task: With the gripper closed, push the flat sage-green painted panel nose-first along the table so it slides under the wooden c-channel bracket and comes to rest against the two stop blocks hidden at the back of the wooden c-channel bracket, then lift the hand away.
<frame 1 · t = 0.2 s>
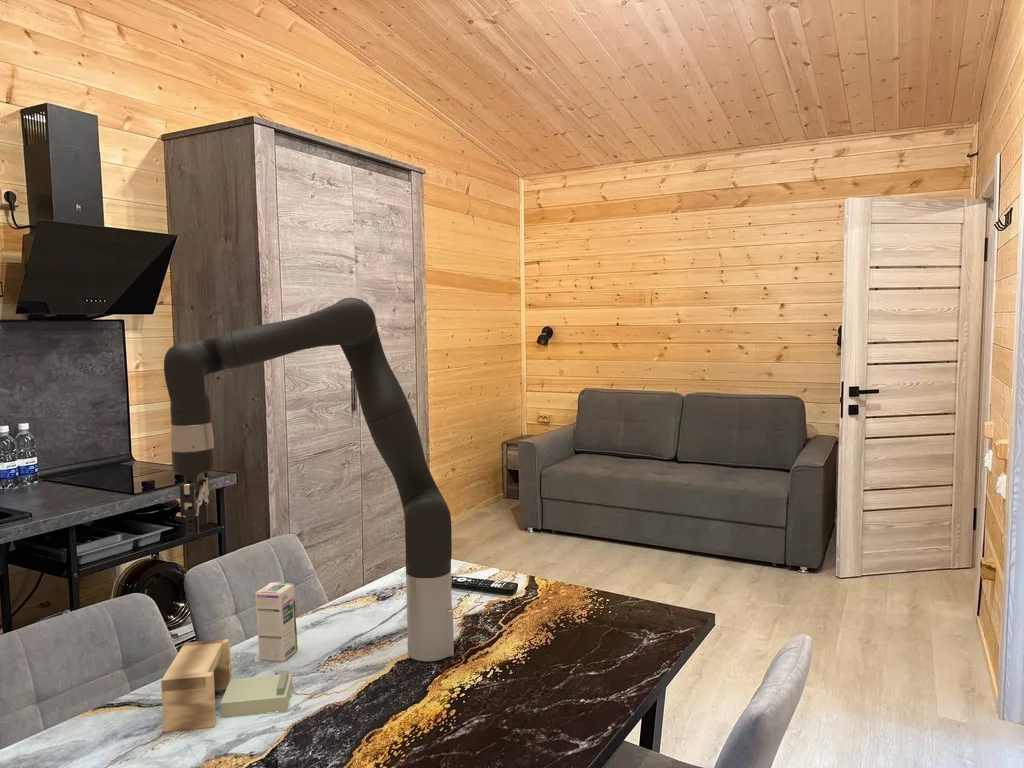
hand: (197, 529, 144), 29 cm above the table, tool pointing down, fingers open, 8 cm apart
syrup box: (278, 656, 154), on the table
panel: (258, 703, 135), on the table
wooden c-channel bracket: (199, 707, 133), on the table
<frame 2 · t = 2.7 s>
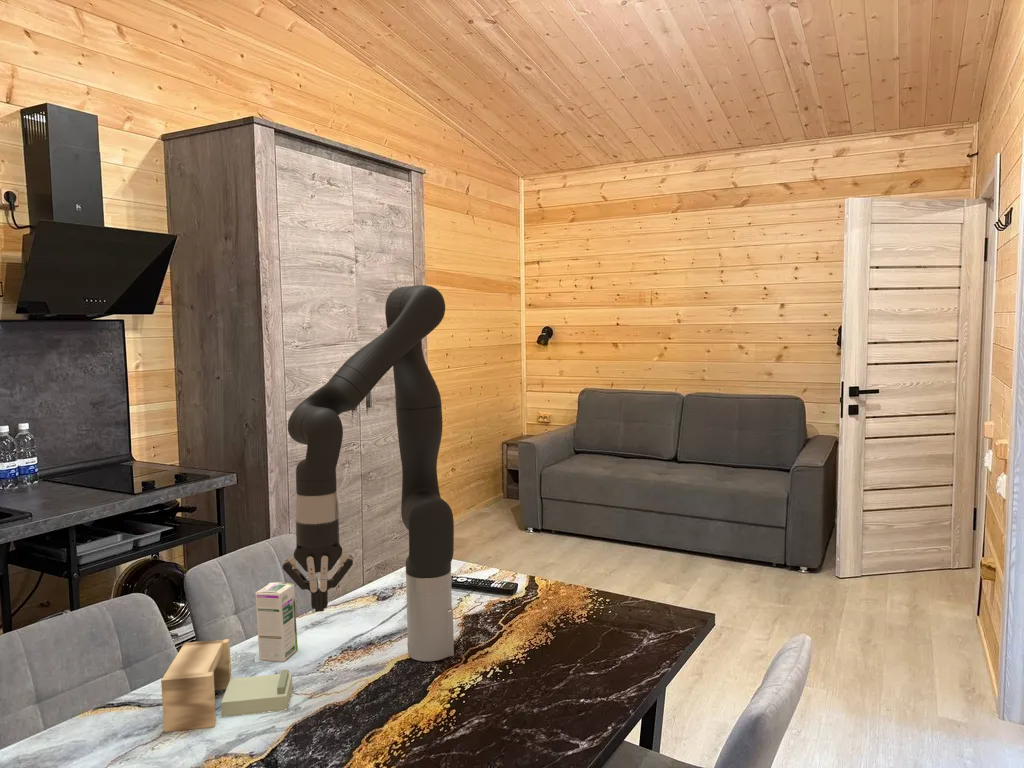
hand: (319, 610, 135), 16 cm above the table, tool pointing down, fingers closed
nothing on the table moved.
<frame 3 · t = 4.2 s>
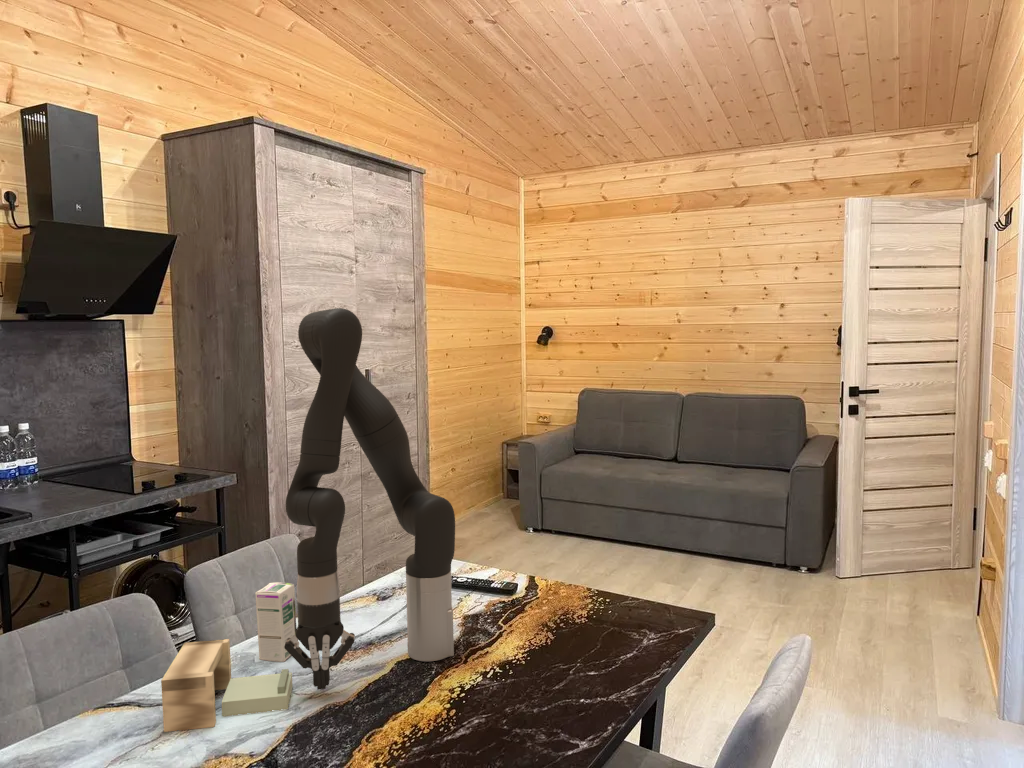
hand: (321, 687, 137), 2 cm above the table, tool pointing down, fingers closed
nothing on the table moved.
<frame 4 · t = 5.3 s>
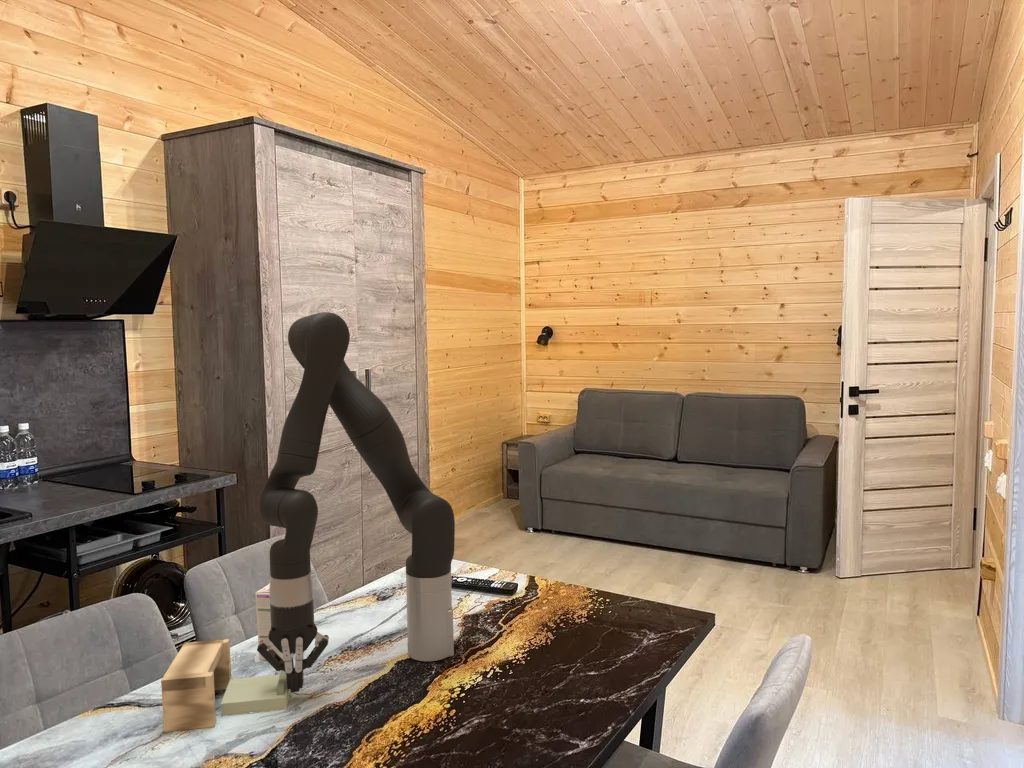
hand: (295, 689, 136), 2 cm above the table, tool pointing down, fingers closed
panel: (258, 703, 135), on the table, touching gripper
everything else where it was.
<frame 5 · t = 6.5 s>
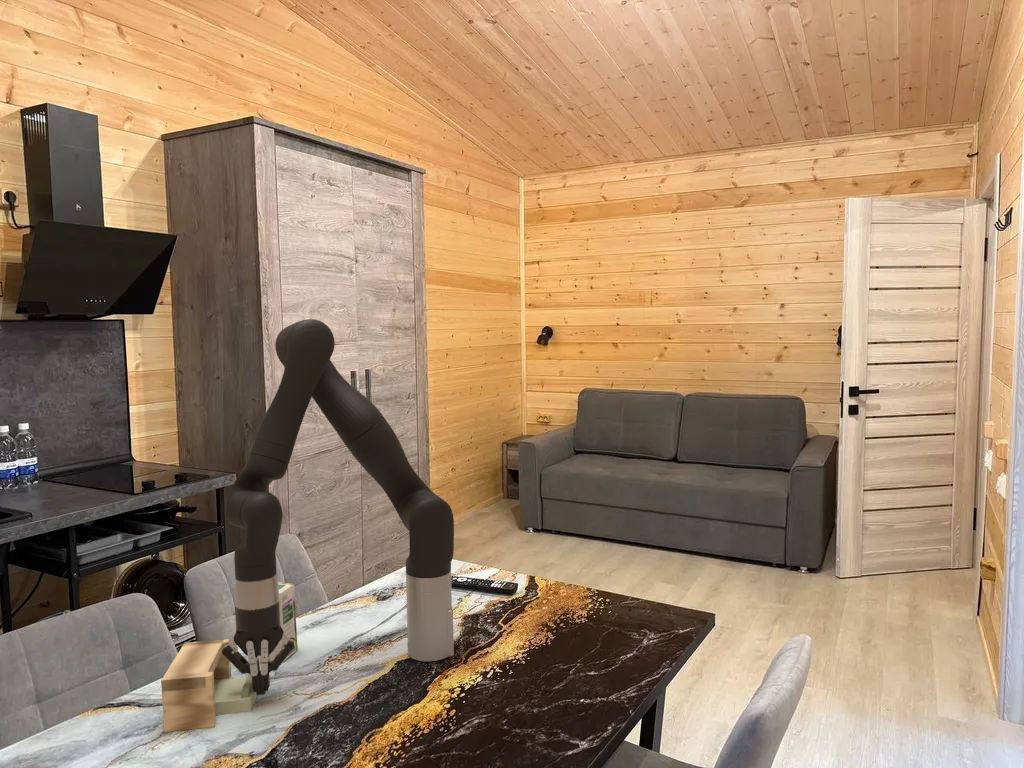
hand: (261, 692, 135), 2 cm above the table, tool pointing down, fingers closed
panel: (224, 705, 135), on the table
everything else where it was.
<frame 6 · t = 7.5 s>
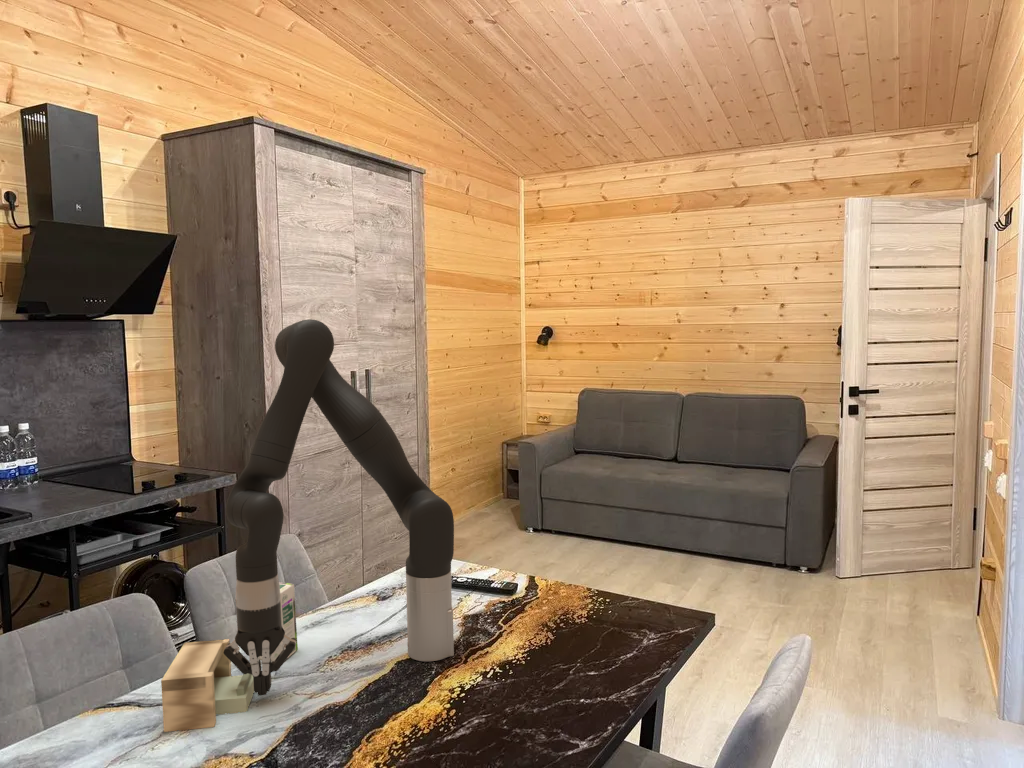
hand: (262, 693, 135), 1 cm above the table, tool pointing down, fingers closed
nothing on the table moved.
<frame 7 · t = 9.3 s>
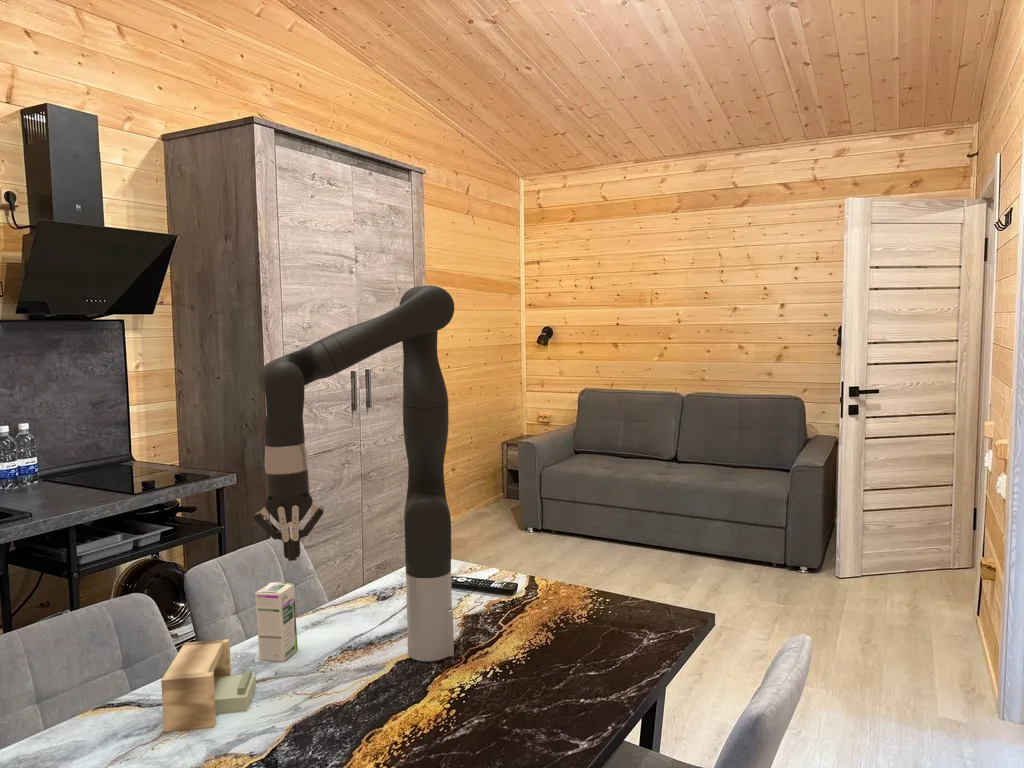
hand: (292, 559, 139), 24 cm above the table, tool pointing down, fingers closed
nothing on the table moved.
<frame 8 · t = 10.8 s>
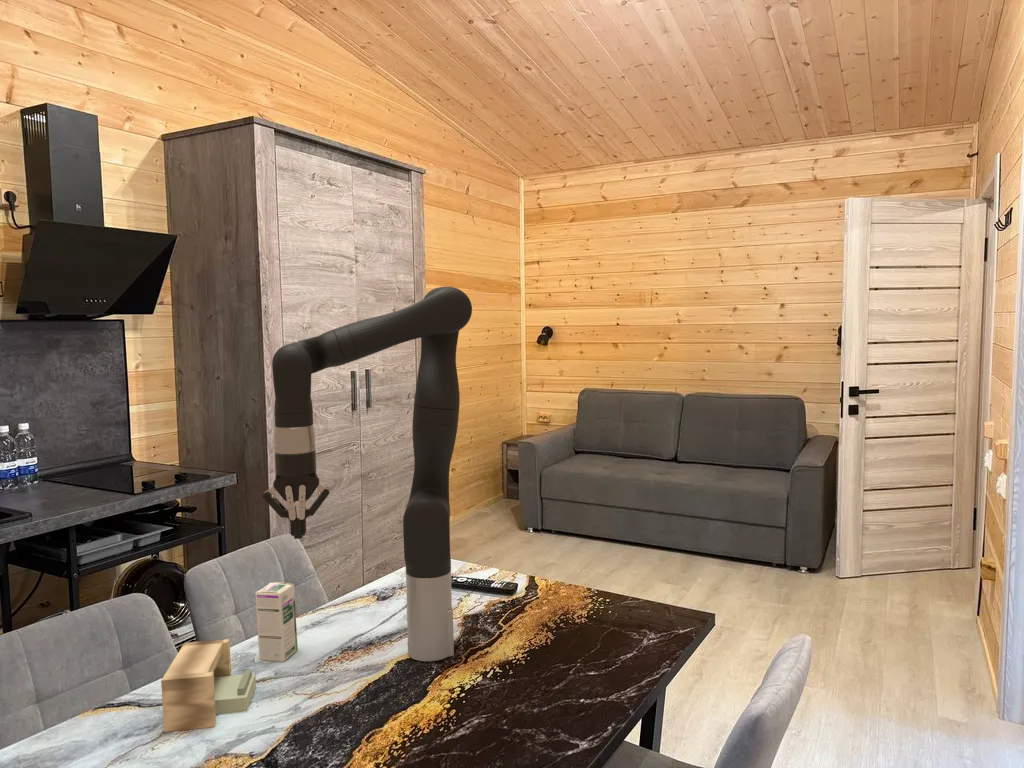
hand: (298, 537, 144), 27 cm above the table, tool pointing down, fingers closed
nothing on the table moved.
at the end: panel 1.3 cm from the target spot on the wooden c-channel bracket, point -0.5 cm above the wooden c-channel bracket's base; panel tilted 0°; panel touching table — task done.
